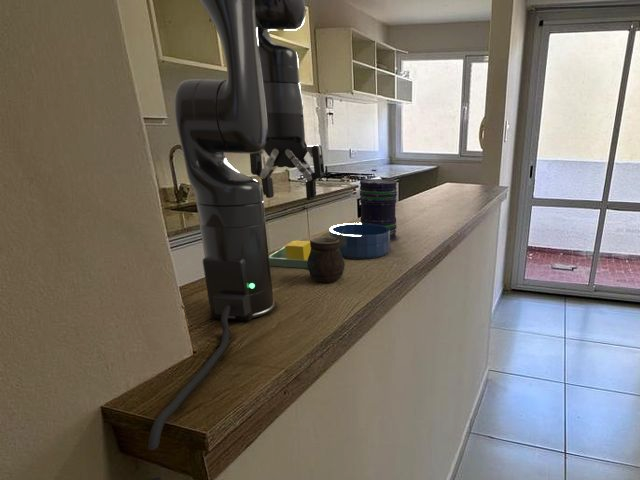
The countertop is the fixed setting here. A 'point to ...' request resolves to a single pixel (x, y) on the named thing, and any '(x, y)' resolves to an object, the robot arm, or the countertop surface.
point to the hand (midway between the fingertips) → (290, 198)
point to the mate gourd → (326, 259)
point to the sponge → (298, 250)
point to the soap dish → (285, 260)
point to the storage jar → (379, 203)
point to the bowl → (362, 240)
